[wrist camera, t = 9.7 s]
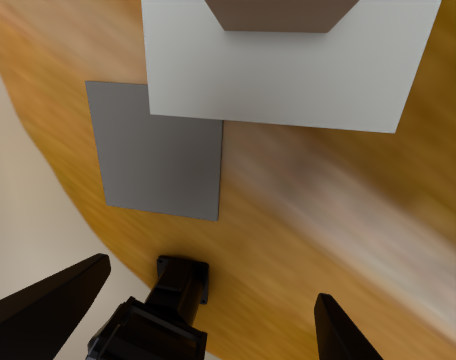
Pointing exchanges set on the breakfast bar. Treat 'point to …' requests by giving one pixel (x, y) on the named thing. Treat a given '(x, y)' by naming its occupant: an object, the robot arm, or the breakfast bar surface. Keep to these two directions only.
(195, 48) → the lid
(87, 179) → the breakfast bar surface
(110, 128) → the mat
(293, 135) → the breakfast bar surface
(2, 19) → the breakfast bar surface
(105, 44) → the breakfast bar surface
